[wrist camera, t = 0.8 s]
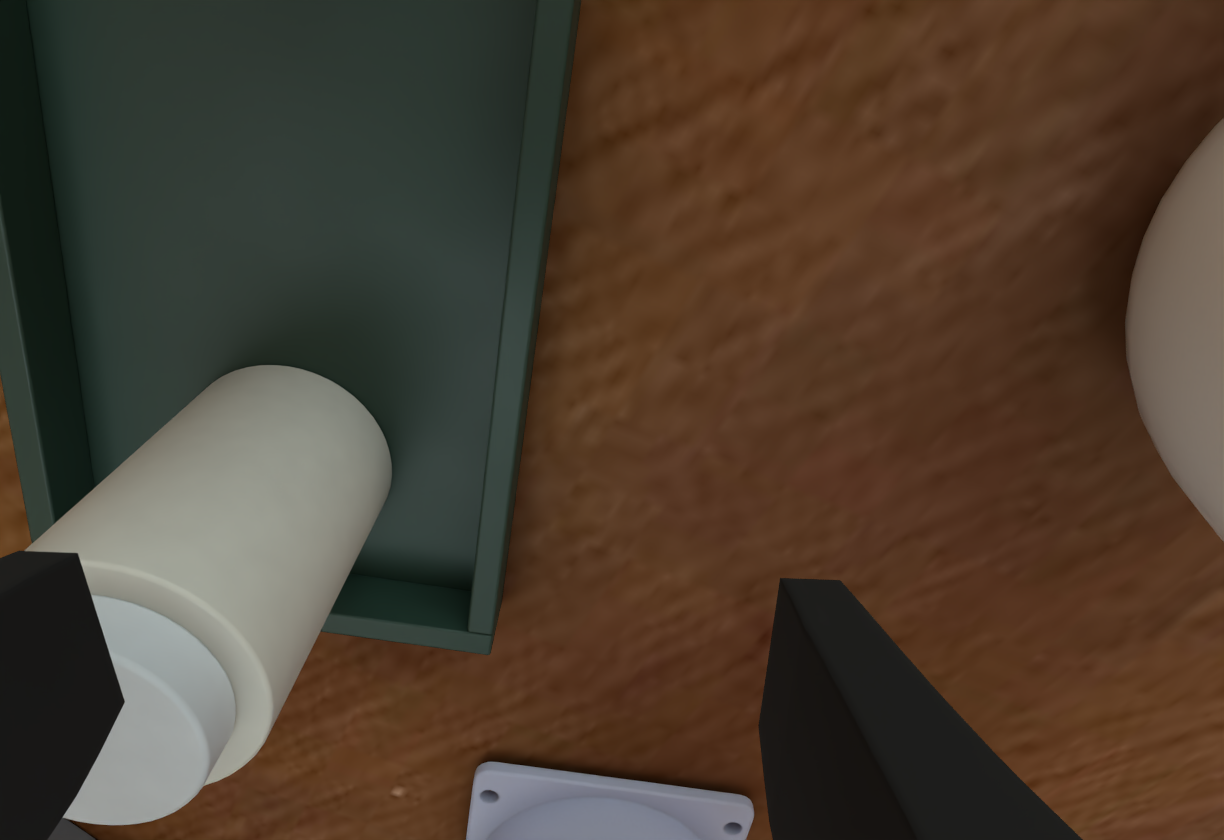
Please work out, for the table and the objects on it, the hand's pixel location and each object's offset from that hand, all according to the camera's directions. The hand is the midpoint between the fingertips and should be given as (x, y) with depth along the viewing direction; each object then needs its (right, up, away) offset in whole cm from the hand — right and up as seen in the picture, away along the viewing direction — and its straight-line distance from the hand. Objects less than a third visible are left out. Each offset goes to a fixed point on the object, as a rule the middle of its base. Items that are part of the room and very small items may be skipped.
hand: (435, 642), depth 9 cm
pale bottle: (-5, +1, +10) cm, 11 cm away
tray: (-4, +7, +8) cm, 11 cm away
